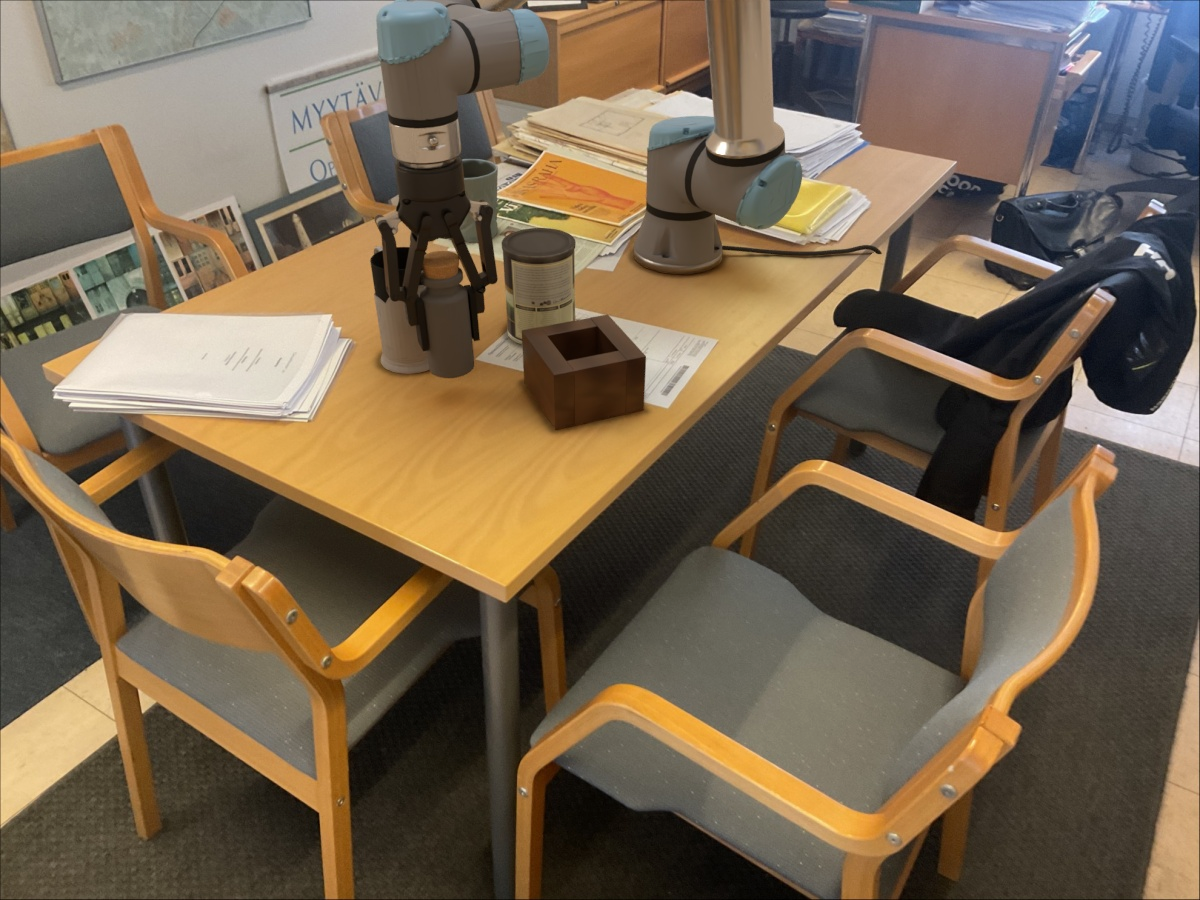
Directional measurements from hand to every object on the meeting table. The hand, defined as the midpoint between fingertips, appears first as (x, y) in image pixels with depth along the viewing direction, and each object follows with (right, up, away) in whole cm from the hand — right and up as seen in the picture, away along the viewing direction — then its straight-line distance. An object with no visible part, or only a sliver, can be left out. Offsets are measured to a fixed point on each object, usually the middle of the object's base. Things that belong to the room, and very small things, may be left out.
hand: (448, 340), depth 113 cm
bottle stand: (+17, -7, +5) cm, 19 cm away
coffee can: (+10, +4, +20) cm, 23 cm away
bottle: (0, -3, +2) cm, 4 cm away
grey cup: (-4, +25, +50) cm, 56 cm away
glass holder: (-9, 0, +15) cm, 18 cm away
